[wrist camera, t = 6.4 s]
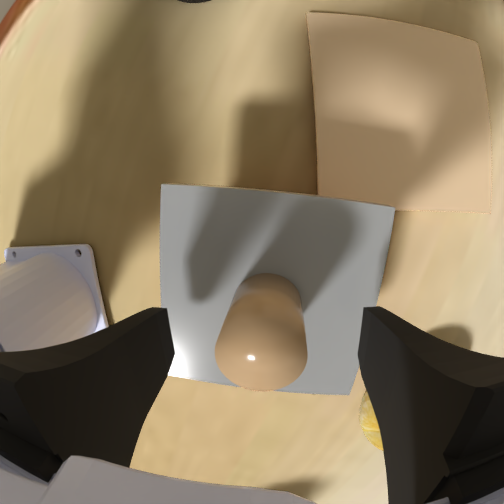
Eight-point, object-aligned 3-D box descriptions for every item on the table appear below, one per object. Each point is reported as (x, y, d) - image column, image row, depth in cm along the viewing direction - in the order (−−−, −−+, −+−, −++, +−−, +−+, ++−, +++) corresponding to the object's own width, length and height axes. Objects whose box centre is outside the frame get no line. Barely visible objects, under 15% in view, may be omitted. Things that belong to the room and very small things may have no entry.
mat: (317, 208, 16) (318, 210, 15) (305, 15, 13) (306, 12, 12) (486, 212, 15) (490, 213, 14) (473, 44, 12) (477, 42, 11)
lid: (170, 365, 15) (139, 424, 10) (168, 182, 12) (114, 193, 8) (346, 384, 14) (361, 450, 10) (388, 204, 12) (437, 226, 7)
